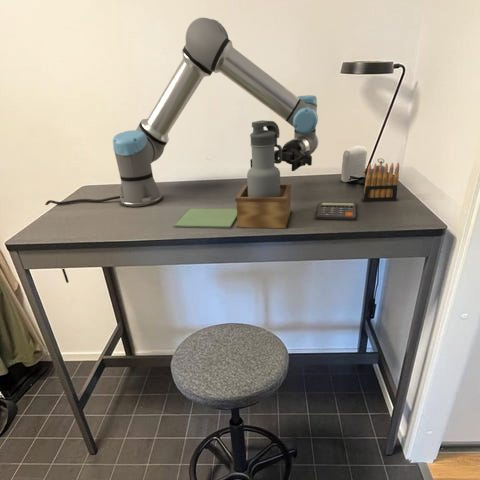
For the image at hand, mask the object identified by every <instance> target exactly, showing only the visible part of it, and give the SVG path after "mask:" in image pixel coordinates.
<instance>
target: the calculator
mask: <svg viewBox="0 0 480 480" xmlns="http://www.w3.org/2000/svg"><path fill="white" fill-rule="evenodd" d="M356 210H357V202H356V201H334V200H333V201H332V200H331V201H330V200H328V201H327V200H321V201H319V204H318V208H317V212H316V217H315V218H316V220H317V219H318V220H345V221H346V220H349V221H354V220H356V212H357V211H356Z"/></svg>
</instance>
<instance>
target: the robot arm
mask: <svg viewBox="0 0 480 480" xmlns="http://www.w3.org/2000/svg"><path fill="white" fill-rule="evenodd" d="M181 54H182V60H181V61H180V63H179V65H178V67H177V68H176V69H175V71H174V73H173V75H172V76H171V78H170V80H169V82H168V83H167V85H166V87H165V88H164V90H163V92H162V94H161V95H160V96H159V99H158V100H157V102H156V104H155V106H154V107H153V109H152V111H150V114H149V116H148V117H147V118H142V119H141V120H140V122H139V124H138V125H137V127H136V129H132V130H126V131H123V132H119V133H117V134H115V135H114V136H113V138H112V147H113V148H112V149H113V152H114V155H115V156H114V157H115V160H116V164H117V169H118V173H119V178H120V192H119V195H117V196H111V197H105V198H101V199H99V198H98V199H93V198H81V199H80V198H79V199H78V198H77V199H71V200H65V201H56V200H54V199H53V200H52V199H51V200H47V201H46V202H45V204H44V205H45V206H48V205H49V204H54V205H67V204H73V203H82V202H87V203H89V202H90V203H103V202H109V201H113V200H119V201H120V204H121V205H122V206H123V207H129V208H138V207H146V206H151V205H154V204H157V203H158V202H160V201H161V200H162V199H163V197H162V193H161V191H160V188H159V186H158V185H157V184H158V183H156V181H155V178H154V175H153V174H154V173H153V169H152V163H154V162H155V161H157V160H159V159H160V158H161V157H162V155H163V153H164V150H165V147H166V146H167V144H168V143H169V141H170V138H169V133H170V131H171V130H172V128H173V126H174V125H175V123H176V122H177V120H178V118H179V117H180V115H181V114H182V113H183V110H184V109H185V108H186V106H187V104H188V103H189V101H190V100H191V98H192V96H193V95H194V94H195V92H196V90H197V88H198V87H199V85H200V84H201V82H202V80H203V79H204V78H206V77H210V76H211V75H212V74H213V73H214V74H219V73H220V74H222V75H224V77H226V78H228V79H229V80H230V81H232V82H233V83H234V84H235V85H237V86H238V87H239V88H240V89H242V90H244V91H245V92H246V93H247V94H249V95H250V96H252V97H253V98H254V99H256V100H257V101H258V102H260V104H262V105H264V106H265V107H267V109H269V110H270V111H272V112H273V113H274V114H276V115H277V116H278V117H280V118H281V119H282V120H284V121H285V122H287V124H289V125H290V126H291V127H293V129H294V130H293V131H294V137H293V138H292V139H291V140H289V141H287V142H285V143H284V145H283V146H282V162H285V163H286V164H289V165H291V172H295V171H296V170H298V169H299V168H301V167H305V166H306V165H307V166H312V165H313V156H312V154H313V153H314V152H315V151H316V150H317V148H318V146H319V138H318V136H317V133H316V132H317V129H316V128H317V124H318V121H319V118H318V117H319V116H318V112H317V110H318V98H317V95H314V94H313V95H308V94H307V95H298V96H297V95H296V94H294V93H293V92H292V91H290V90H289V89H288V88H287V87H285V86H284V85H283V84H281V83H280V82H279V81H277V80H276V79H275V78H273V76H271V75H270V74H268V73H267V72H266V71H265V70H263V69H262V68H260V67H259V65H257V64H256V63H254V62H253V61H252V60H251V59H249V58H248V57H247V56H245V55H243V54H242V53H241V52H240V51H238V50H237V49H236V48H235V47H234V45H233V42H232V40H230V39H229V35H228V32H227V30H226V28H225V27H224V26H223V24H222V23H221V22H219V20H216V19H213V18H209V17H198V18H196V19H194V20H192V22H191V23H190V24H189V25H188V27H187V29H186V33H185V44H184V46H183V48H182V49H181ZM249 160H250V162H249V163H250V169H251V168H252V158H251V159H249ZM274 161H279V149H274ZM61 270H62V273H63V276H64V280H65V283H67V284H68V283H69V282H70V281H69V278H68V276H67V273H66V272H67V271H66V269H65V268H64V269H62V268H61Z"/></svg>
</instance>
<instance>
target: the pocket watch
mask: <svg viewBox="0 0 480 480" xmlns="http://www.w3.org/2000/svg"><path fill="white" fill-rule="evenodd" d="M377 162H378V163H379V164H378V165H377V172H376V179H377V175H378V170H379V166H380V164H381V163H382V164H384V163H385V160H384V159H383V158H381V160H380V158H378V159H377ZM384 168H385V165H382V176H383V172H384ZM372 173H373V168H371V177H372ZM388 175H389V172H388V173H387V179H388ZM381 182H382V181H381Z"/></svg>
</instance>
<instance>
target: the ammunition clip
mask: <svg viewBox="0 0 480 480" xmlns="http://www.w3.org/2000/svg"><path fill="white" fill-rule="evenodd" d="M379 165H380V166H379V170H378V175H377V176H376V172H377V166H378V165H377V163H374V165H373V168H372V164H371V163H369V164H368V166H367V171H366V175H365V181H364V188H363V194H362V201H363V202H395V201H397V196H398V195H397V194H398V184H399V178H400V177H399V176H400V162H397V163H396V166H395V169H394V162H392V163H391V164H390V166H389V164H388V162H386V163H385V165H384V167H385V168H384V172H383V176H382V166H383V163H381V164H380V163H379ZM388 168H389V169H388ZM372 169H373V173H372V177H371V171H372ZM387 173H388V178H387ZM376 177H377V179H376ZM381 181H382V182H381Z"/></svg>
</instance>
